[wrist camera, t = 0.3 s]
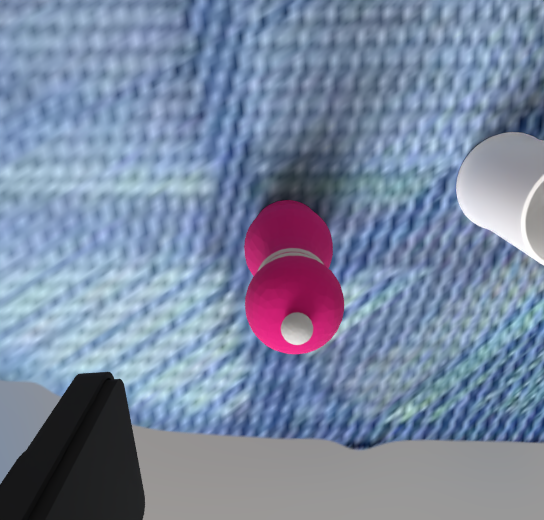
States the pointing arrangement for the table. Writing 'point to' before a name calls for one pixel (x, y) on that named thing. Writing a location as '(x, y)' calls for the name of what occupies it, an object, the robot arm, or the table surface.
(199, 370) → the table surface
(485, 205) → the mug
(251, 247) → the pepper mill
